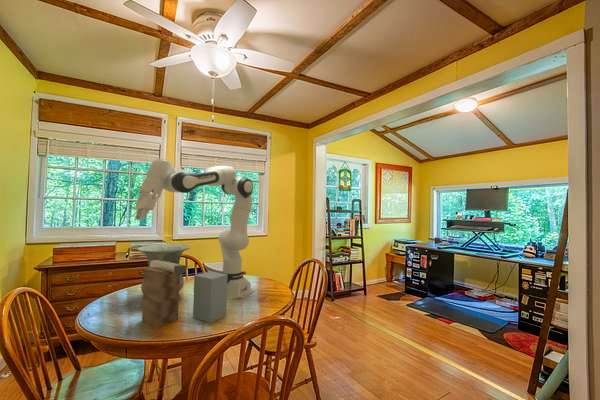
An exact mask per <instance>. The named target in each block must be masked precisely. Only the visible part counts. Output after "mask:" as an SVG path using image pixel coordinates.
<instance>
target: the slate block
mask: <svg viewBox="0 0 600 400" xmlns="http://www.w3.org/2000/svg"><path fill="white" fill-rule="evenodd" d="M227 276H228V275H226V274H222V272H221V273H220V272H217V271H216V272H215V271H207V272H203V273H198V274H194V276H193V278H194V281H193V302H192V303H193V305H192V307H193V309H192V310H193V311H192V317H193V318H195V319H198V320H201V321H204V322H207V323H211V324H212V322H216V321H218V320H219V319H222V318H224V317H226V316H227V304H228V303H227V302H228V301H227V300H228V299H227Z"/></svg>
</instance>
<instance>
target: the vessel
mask: <svg viewBox="0 0 600 400" xmlns="http://www.w3.org/2000/svg"><path fill="white" fill-rule="evenodd" d="M190 249H191V245H187V244H181V243H164V244H163V243H160V244H150V245H142V246H139V247H137V248H136V250H137V251H138V252H140V253H143V254H144V255H145V256H146V259H147V263H148V264H147V268H151V267H150V262H151V261H153V260H160V261H165V262H170V263H175V264H180V262H181V256H182V254H183V253H184V252H185V251H188V250H190ZM143 284H144V278H143V279H142V282H141V287H140V290H141V293H142V294H143ZM184 284H185V280H184V276H183V273H181V274H180V278H179V292H180V291H181V290H182V289H183V288H184ZM181 298H182V297H181V295H180V294H179V301H180V299H181Z"/></svg>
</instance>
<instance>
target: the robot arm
mask: <svg viewBox="0 0 600 400" xmlns="http://www.w3.org/2000/svg"><path fill="white" fill-rule="evenodd" d="M203 186H209V187H218V186H220V188H221V190H222V192H223V193H224V194H227V195H229V196H230V195H231V196H234V203H233V206H232V209H231V212H230V215H229V223H230V229H227V230H223V231H222V232H221V233H219V235H218V243H219V245H220V249H221V254H222V272H221V274H226V275H228V276H227V300H232V299H233V300H235V299H244V298H246V297H247V296H250V295H251V294H253V293H255V289H254V288H252V285H251V284H252V283H251V282H250V281H249V280H248V279H247V278H246V277H244V275H247V271H245V270H243V269H242V268H243V262H242V261H243V257H242V256H241V254H240V251H242V250H245V249H246V248H247V247H248V246H249V243H250V240H249V236H248V222H249V217H250V214H251V210H252V205H253V196H252V194H253V191H254V184H253V181H252V180H251V179H250V178H247V177H241V176H237V172H236V170H235V168H234V167H232V166H231V165H215V166H210V167H207V168H205V169H204V172H201V173H193V172H189V171H186V170H185V171H184V170H183V171H179V172H178V171H177V170H176V169H175V167H174V165H173V163H172V161H170V160H168V159H165V158H156V159H154V160H153V161H152V162H151V164H150V166H149V168H148V170H147V172H146V177H145V179H144V180H143V181H142V183H141V185H140V188H139V191H138V197H137V201H136V204H135V205H134V206H135V207H134V208H135V210H136V213H135V214H136V215H135V218H134V219H135V220H137V221H139V220H143V221H145V219H146V217H147V216H148V214H149V212H150V211H154V209H155V206H156V204H157V200H158V199H160V198H161V195H162V193H163V190H166V191H167V192H170V193H180V194H181V193H183V194H188V193H191V192H192V191H194V190H195V189H197V188H199V187H203Z"/></svg>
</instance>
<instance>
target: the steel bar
mask: <svg viewBox="0 0 600 400" xmlns="http://www.w3.org/2000/svg"><path fill="white" fill-rule="evenodd" d="M150 267H152V268H156V269H161V270H165V271H170V272H174V273H179V274H186V272H187V265H186V264H185V265H184V264H180V263H179V264H175V263H170V262H165V261H160V260H153V261H151V262H150Z"/></svg>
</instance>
